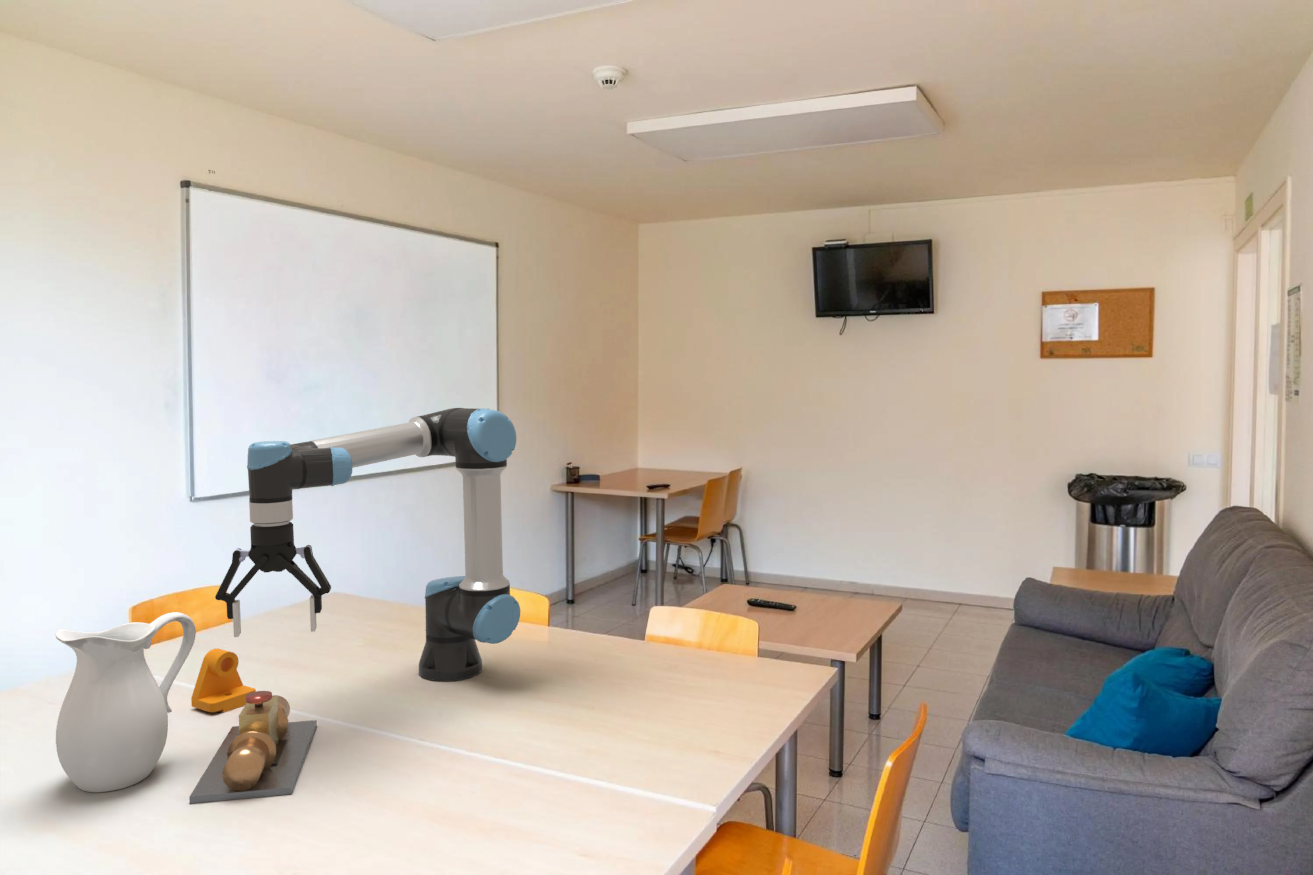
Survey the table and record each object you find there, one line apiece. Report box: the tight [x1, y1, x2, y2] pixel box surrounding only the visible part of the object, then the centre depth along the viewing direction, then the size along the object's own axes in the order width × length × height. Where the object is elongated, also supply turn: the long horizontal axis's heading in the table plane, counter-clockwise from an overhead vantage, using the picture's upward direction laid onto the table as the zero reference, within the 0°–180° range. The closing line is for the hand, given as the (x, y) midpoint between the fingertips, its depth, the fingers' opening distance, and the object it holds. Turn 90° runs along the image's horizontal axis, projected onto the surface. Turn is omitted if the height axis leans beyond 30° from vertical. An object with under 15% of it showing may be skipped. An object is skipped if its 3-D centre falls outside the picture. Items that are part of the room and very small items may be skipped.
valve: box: [238, 690, 279, 747], centre depth 165 cm, size 5×9×11 cm, turn 13°
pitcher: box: [55, 611, 197, 793], centre depth 160 cm, size 24×17×28 cm
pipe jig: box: [188, 694, 318, 804], centre depth 166 cm, size 31×16×8 cm, turn 13°
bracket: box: [191, 648, 256, 714], centre depth 193 cm, size 11×7×12 cm, turn 149°
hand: (276, 632), depth 170 cm, fingers open, 13 cm apart
